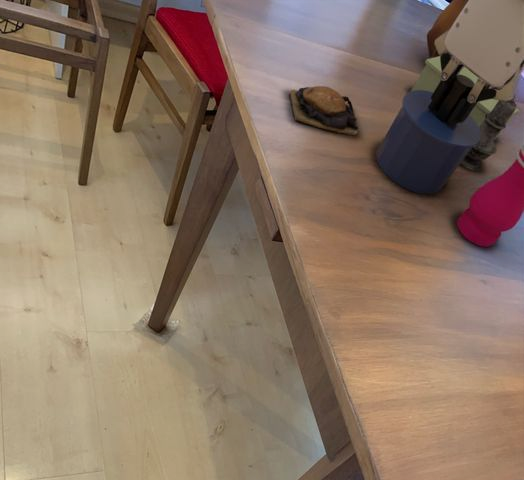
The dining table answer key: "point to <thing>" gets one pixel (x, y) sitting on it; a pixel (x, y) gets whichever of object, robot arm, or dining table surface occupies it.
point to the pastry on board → (324, 109)
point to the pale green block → (433, 70)
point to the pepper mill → (495, 206)
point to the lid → (443, 115)
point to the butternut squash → (444, 25)
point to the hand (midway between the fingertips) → (444, 114)
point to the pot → (416, 157)
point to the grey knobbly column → (489, 134)
